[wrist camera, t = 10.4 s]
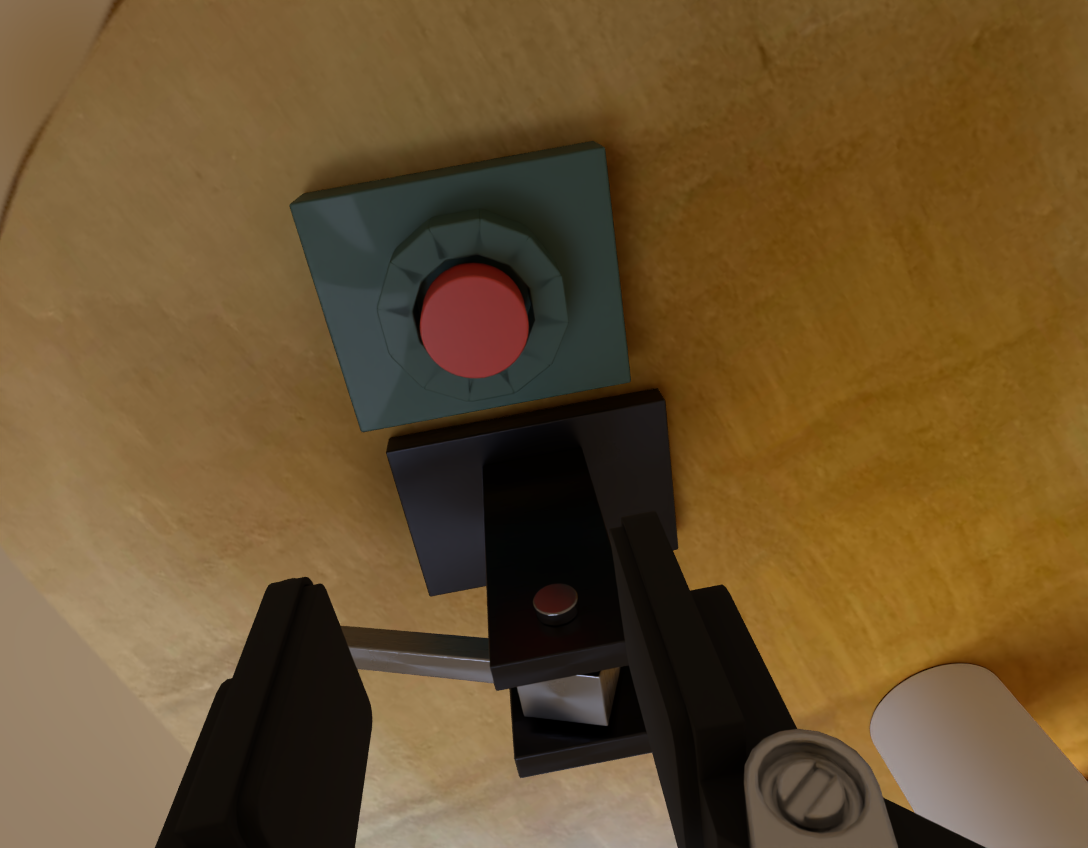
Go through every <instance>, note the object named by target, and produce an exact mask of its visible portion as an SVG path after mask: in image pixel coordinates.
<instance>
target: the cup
mask: <svg viewBox="0 0 1088 848" xmlns="http://www.w3.org/2000/svg"><path fill="white" fill-rule="evenodd" d="M870 734H871V738H872V741H873V743H874V745H875V746H876V748H877V750H878V751H879V753H880V755H881V757H882V758H883V760H884V762H885V763H886V765H887V767H888V768H889V770H890V772H891V773H892V775H893V777H894V778H895V780H896V782H897V783H898V785H899V787H900V788H901V790H902V792H903V793H904V795H905V797H906V798H907V800H908V802H909V803H910V805H911V807H912V808H913V810H914V812H915V813H916V814H918V815H920V816H922V817H924V818H926V819H928V820H930V821H932V822H934V823H936V824H939V825H941V826H943V827H945V828H947V829H949V830H951V831H953V832H955V833H957V834H959V835H961V836H963V837H965V838H967V839H969V840H972V841H974V842H976V843H978V844H980V845H982V846H984V847H986V848H1088V781H1087V780H1086V779H1085V778H1084V777H1083V775H1082V774H1081V773H1080V772H1079V771H1078V770H1077V769H1076V767H1075V766H1074V765H1073V764H1072V763H1071V762H1070V760H1069V759H1068V758H1067V757H1066V756H1065V755H1064V753H1063V752H1062V751H1061V750H1060V749H1059V748H1058V747H1057V745H1056V744H1055V743H1054V742H1053V741H1052V740H1051V738H1050V737H1049V736H1048V735H1047V734H1046V733H1045V732H1044V730H1043V729H1042V728H1041V727H1040V726H1039V725H1038V723H1037V722H1036V721H1035V720H1034V719H1033V718H1032V717H1031V715H1030V714H1029V713H1028V712H1027V711H1026V710H1025V708H1024V707H1023V706H1022V705H1021V704H1020V703H1019V702H1018V700H1017V699H1016V698H1015V697H1014V696H1013V695H1012V693H1011V692H1010V691H1009V690H1008V689H1007V688H1006V686H1005V685H1004V684H1003V683H1002V682H1001V681H1000V680H999V678H998V677H997V676H996V675H995V674H994V673H992V672H991V671H989V670H988V669H986V668H983V667H981V666H977V665H972V664H948V665H942V666H938V667H934V668H931V669H928V670H925V671H923V672H920V673H918V674H916V675H914V676H912V677H910V678H908V679H907V680H905V681H904V682H902V683H901V684H899V685H898V686H897V687H895V688H894V689H893V690H892V691H891V692H890V693H888V694H887V695H886V697H885V698H884V699H883V700H882V701H881V702H880V704H879V705H878V707H877V708H876V710H875V712H874V714H873V717H872V720H871V725H870Z"/></svg>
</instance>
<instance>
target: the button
mask: <svg viewBox="0 0 1088 848" xmlns="http://www.w3.org/2000/svg"><path fill="white" fill-rule="evenodd" d="M420 333H421V339H422V342H423V345H424V347H425V349H426V351H427V352H428V354H429V355H430V357H431V358H432V359H433V360H434V361H435V362H436V363H437V364H438V365H439V366H440V367H442V368H443V369H445V370H446V371H448V372H450V373H452V374H455V375H457V376H461V377H465V378H484V377H489V376H493V375H495V374H498V373H500V372H502V371H504V370H505V369H507V368H508V367H509V366H511V365H512V364H513V363H514V362H515V361H516V360H517V358H518V357H519V356H520V354H521V353H522V351H523V349H524V347H525V345H526V342H527V339H528V333H529V322H528V316H527V312H526V308H525V304H524V300H523V297H522V294H521V292H520V290H519V288H518V286H517V285H516V284H515V282H514V281H513V280H512V279H511V278H510V277H509V276H508V275H507V274H506V273H504V272H503V271H501V270H499V269H498V268H496V267H493V266H491V265H487V264H483V263H463V264H459V265H456V266H454V267H451V268H449V269H447V270H446V271H444V272H443V273H441V274H440V275H439V276H438V277H437V278H436V279H435V280H434V281H433V282H432V284H431V285H430V287H429V288H428V290H427V292H426V295H425V298H424V302H423V307H422V313H421V318H420Z"/></svg>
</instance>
